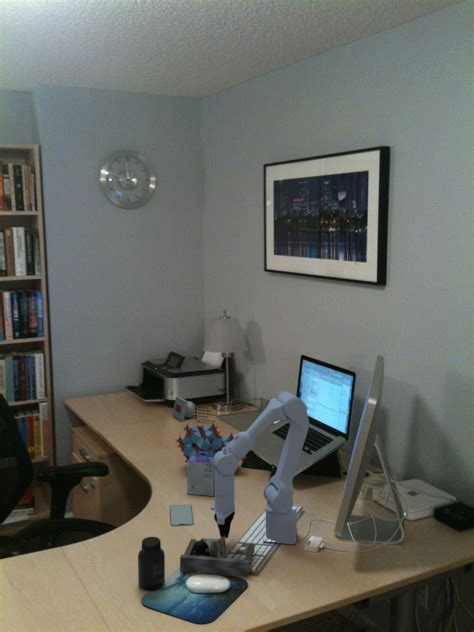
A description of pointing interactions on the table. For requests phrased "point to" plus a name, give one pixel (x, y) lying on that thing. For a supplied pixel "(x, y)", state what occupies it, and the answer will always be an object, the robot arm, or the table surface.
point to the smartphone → (181, 515)
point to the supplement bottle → (151, 565)
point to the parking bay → (215, 563)
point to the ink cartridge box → (201, 475)
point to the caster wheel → (211, 547)
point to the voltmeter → (187, 409)
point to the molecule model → (203, 442)
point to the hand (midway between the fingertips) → (224, 536)
